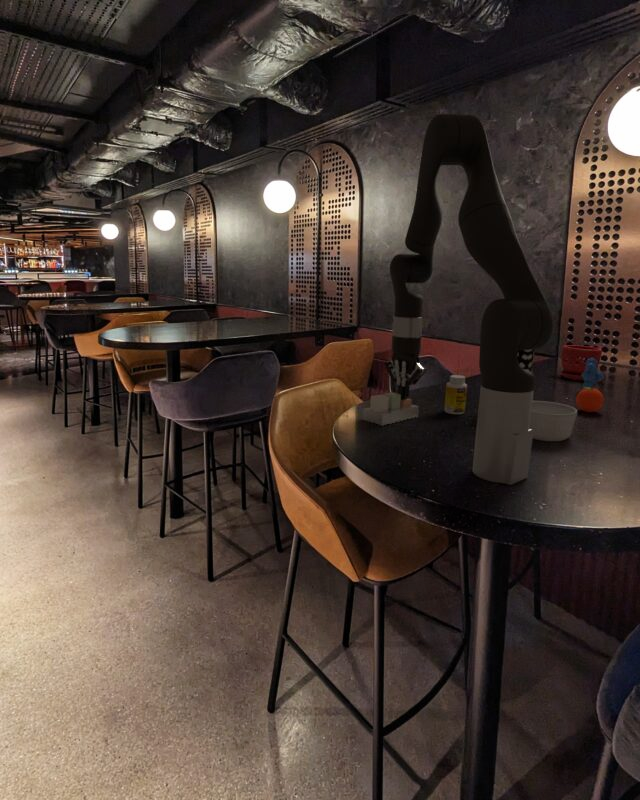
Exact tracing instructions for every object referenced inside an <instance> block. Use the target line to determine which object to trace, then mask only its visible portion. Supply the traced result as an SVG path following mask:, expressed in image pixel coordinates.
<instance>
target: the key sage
mask: <svg viewBox="0 0 640 800" xmlns="http://www.w3.org/2000/svg"><path fill="white" fill-rule="evenodd" d="M397 393H398V392H397ZM397 393H396V392H392V391H391V392H386V393H383V394H382V395H383V396H387V397H389V400H388V409H389V410H395V409H399V408H400V398H401V394H397Z"/></svg>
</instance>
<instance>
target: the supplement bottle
mask: <svg viewBox="0 0 640 800" xmlns="http://www.w3.org/2000/svg"><path fill="white" fill-rule="evenodd" d="M465 381H466V377H465V376H464V375H461V374H460V375H459V374H452V375H449V382H447V383H446V386H445V387H446V388H445V398H444V409H443V410H444V412H445V413H447V414H450V415H463V414H464V413H465V410H466V403H467V392H468V384H467V383H466V382H465Z"/></svg>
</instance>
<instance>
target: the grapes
mask: <svg viewBox="0 0 640 800" xmlns="http://www.w3.org/2000/svg"><path fill="white" fill-rule="evenodd" d="M596 365H597V362H596V360H595V359H594V358H590V359H588V360H587V361H586V366H585V368H586V369H585V372H584V373H582V374H581V376H582V377H583V379H584V380H583V383H582V385H581V388H582V389H581V390H583V389H585V388H584V387H589V388H591V387H592V388H594V386H595V385H594V384H596V382H600V381H602V380H603V379H604V378H605V376H604V374H603V373H602V372H601V371H598V368H597V369H596Z"/></svg>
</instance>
